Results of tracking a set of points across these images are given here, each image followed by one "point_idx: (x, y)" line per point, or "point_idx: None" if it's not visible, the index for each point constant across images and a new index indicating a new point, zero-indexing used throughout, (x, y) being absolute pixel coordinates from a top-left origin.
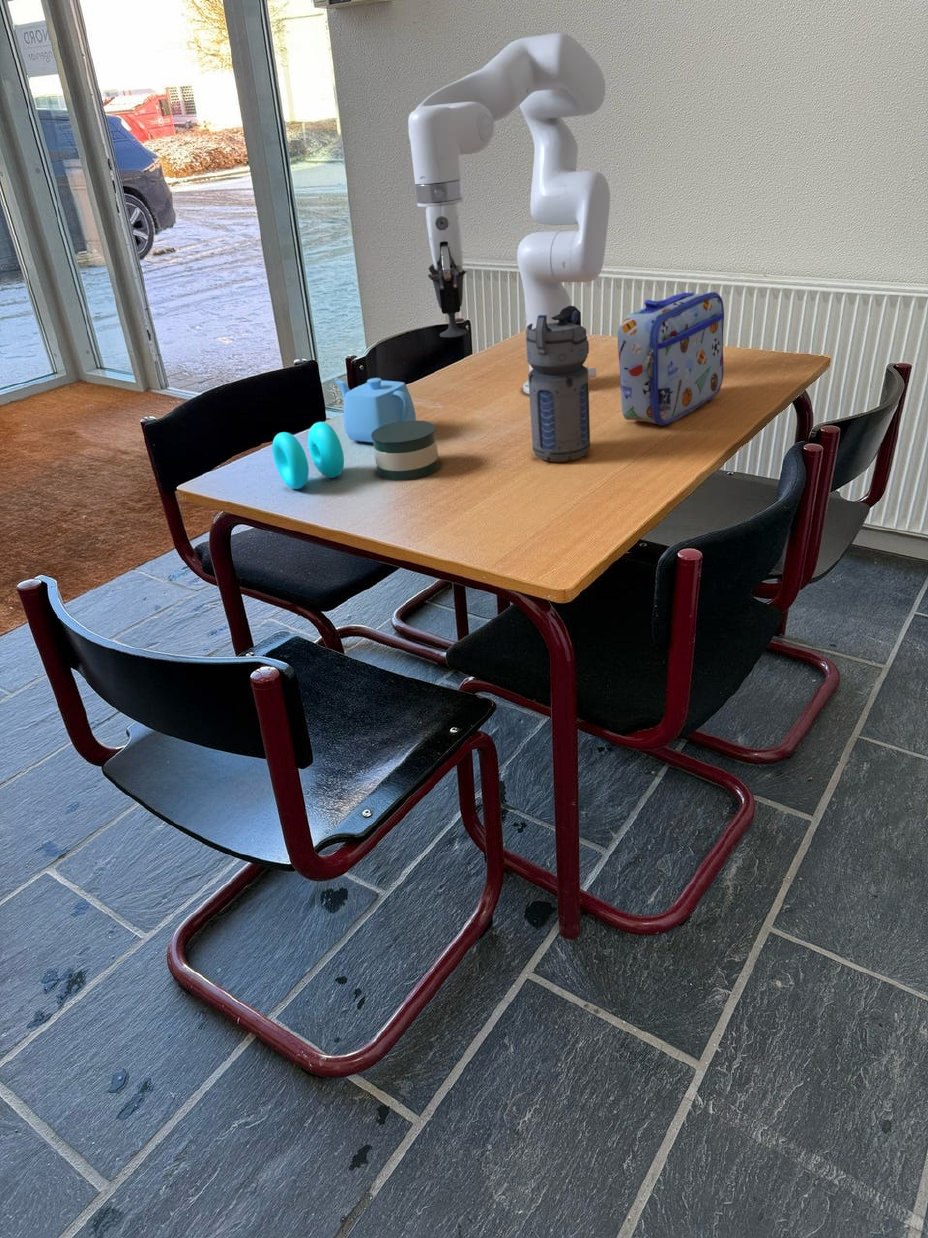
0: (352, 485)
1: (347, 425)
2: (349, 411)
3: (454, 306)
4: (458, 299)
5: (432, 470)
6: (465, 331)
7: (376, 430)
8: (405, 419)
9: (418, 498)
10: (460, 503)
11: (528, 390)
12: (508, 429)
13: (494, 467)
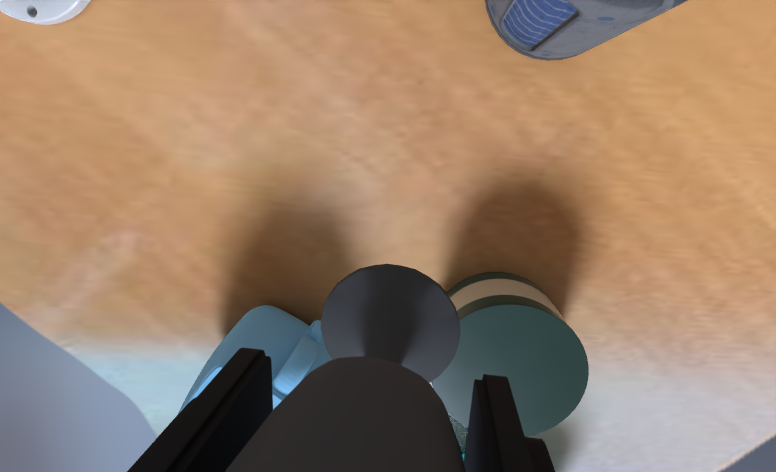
0: None
1: None
2: None
3: (543, 442)
4: (525, 441)
5: (539, 288)
6: (399, 276)
7: None
8: (317, 339)
9: (666, 323)
10: (738, 250)
11: (70, 11)
12: (326, 99)
13: (566, 160)
